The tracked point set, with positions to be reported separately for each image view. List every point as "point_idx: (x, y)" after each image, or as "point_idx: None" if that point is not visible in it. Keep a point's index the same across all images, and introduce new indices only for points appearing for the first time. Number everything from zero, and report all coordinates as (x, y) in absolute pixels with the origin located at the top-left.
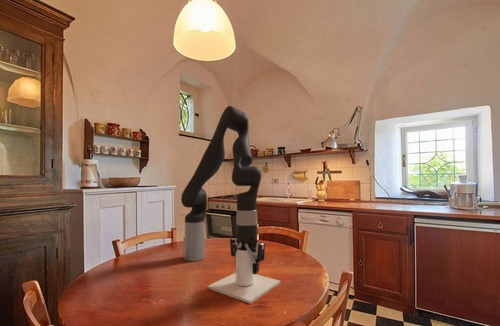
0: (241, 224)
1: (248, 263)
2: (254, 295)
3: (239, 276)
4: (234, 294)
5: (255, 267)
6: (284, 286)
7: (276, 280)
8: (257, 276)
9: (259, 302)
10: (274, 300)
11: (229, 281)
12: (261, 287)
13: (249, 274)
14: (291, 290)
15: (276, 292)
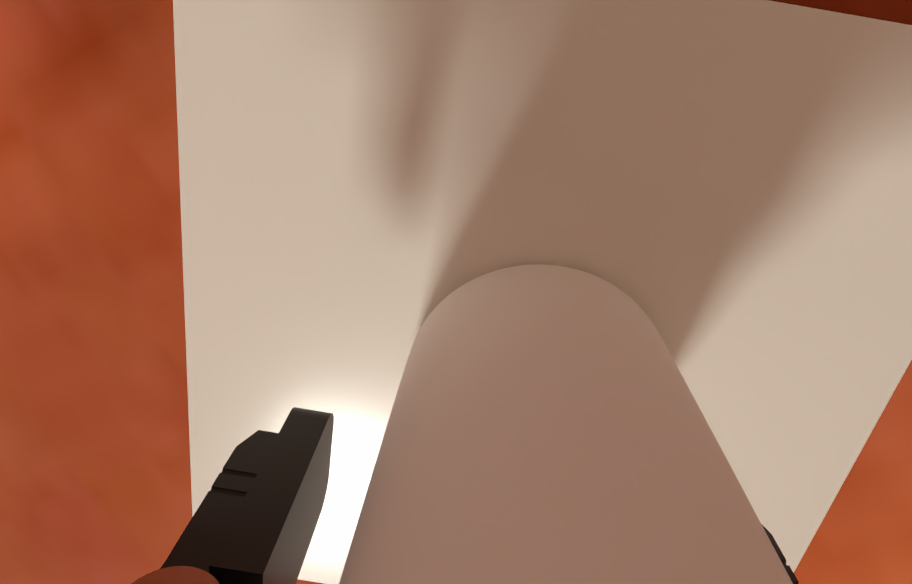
0: None
1: (376, 547)
2: (221, 97)
3: (574, 319)
4: None
5: (233, 507)
6: (128, 496)
7: None
8: None
9: (114, 13)
10: (4, 156)
11: (767, 334)
12: (278, 347)
13: (402, 398)
14: (17, 445)
15: (111, 346)
